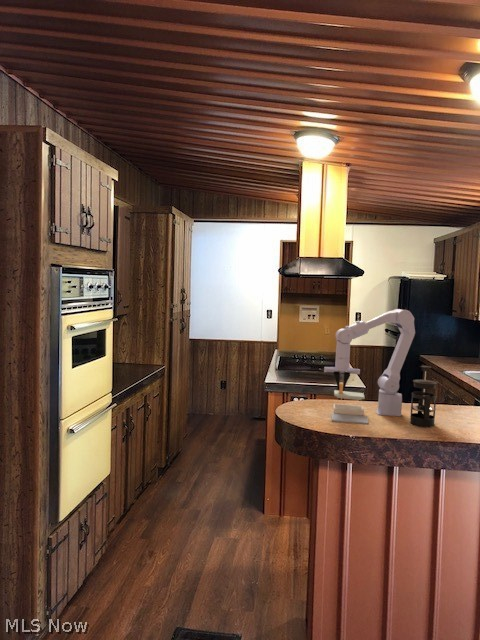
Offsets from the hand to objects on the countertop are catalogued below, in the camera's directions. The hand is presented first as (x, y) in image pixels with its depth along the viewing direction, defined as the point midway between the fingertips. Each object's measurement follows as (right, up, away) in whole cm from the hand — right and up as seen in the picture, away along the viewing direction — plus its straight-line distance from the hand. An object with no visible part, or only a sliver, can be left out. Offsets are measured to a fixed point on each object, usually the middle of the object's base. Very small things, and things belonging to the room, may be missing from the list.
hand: (340, 390), depth 223 cm
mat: (+1, -10, -11) cm, 15 cm away
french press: (+29, -12, -14) cm, 34 cm away
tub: (+3, -10, 0) cm, 10 cm away
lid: (+3, -3, 0) cm, 4 cm away
